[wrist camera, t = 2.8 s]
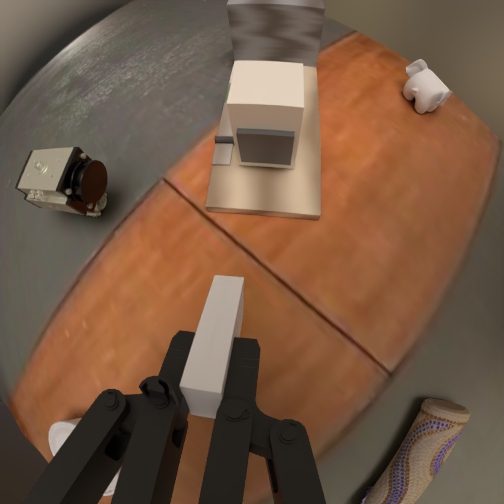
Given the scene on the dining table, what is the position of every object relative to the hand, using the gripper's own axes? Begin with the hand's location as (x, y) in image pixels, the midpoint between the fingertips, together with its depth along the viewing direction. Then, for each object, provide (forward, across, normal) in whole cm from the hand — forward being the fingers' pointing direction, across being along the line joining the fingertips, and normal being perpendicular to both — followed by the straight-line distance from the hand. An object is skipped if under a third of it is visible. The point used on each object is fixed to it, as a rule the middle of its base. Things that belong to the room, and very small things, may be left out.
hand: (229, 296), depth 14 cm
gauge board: (+26, +1, +7) cm, 27 cm away
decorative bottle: (-6, +20, -25) cm, 32 cm away
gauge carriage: (+21, -1, +5) cm, 21 cm away
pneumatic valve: (+16, -21, -3) cm, 27 cm away
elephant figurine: (+32, +25, +14) cm, 43 cm away
